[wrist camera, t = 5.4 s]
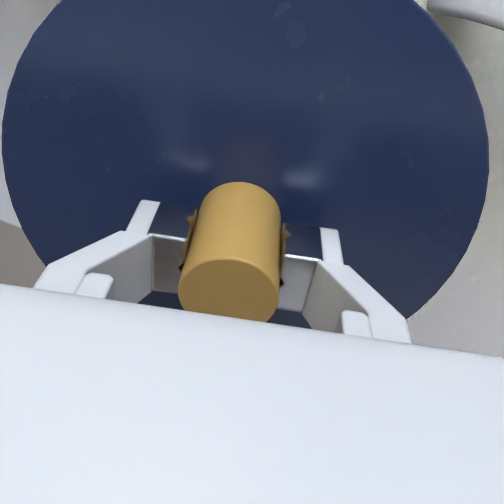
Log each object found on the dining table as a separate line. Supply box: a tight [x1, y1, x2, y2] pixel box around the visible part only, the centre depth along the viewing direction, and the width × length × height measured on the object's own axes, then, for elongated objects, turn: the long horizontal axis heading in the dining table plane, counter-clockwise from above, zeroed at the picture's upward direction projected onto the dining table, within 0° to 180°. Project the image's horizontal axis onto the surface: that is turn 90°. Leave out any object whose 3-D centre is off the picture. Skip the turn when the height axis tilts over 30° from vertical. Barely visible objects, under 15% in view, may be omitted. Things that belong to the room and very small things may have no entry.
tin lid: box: [2, 0, 489, 329], centre depth 13 cm, size 14×14×5 cm
